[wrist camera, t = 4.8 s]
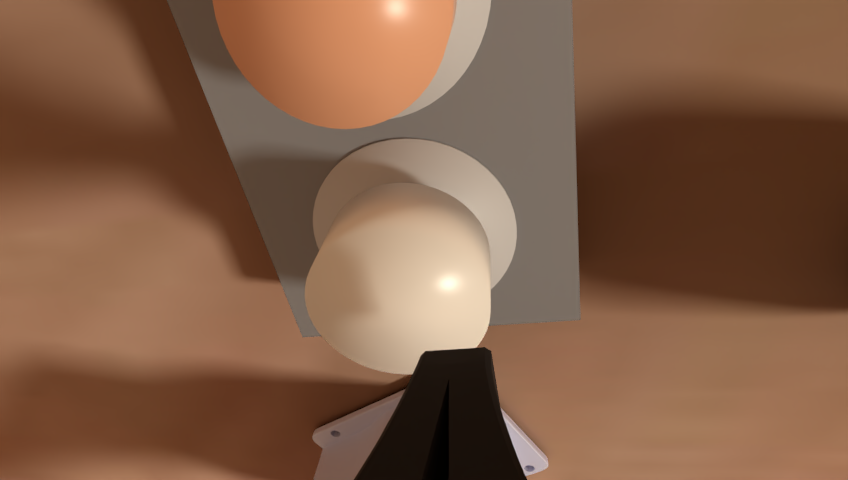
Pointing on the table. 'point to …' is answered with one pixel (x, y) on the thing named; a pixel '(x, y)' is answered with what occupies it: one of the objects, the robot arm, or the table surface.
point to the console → (425, 151)
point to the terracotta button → (337, 54)
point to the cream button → (401, 277)
